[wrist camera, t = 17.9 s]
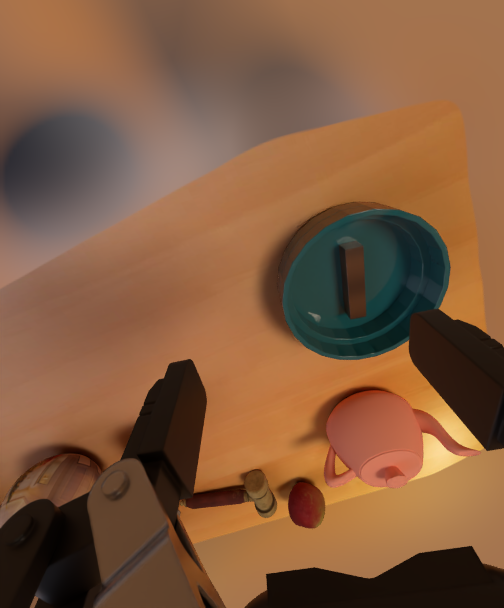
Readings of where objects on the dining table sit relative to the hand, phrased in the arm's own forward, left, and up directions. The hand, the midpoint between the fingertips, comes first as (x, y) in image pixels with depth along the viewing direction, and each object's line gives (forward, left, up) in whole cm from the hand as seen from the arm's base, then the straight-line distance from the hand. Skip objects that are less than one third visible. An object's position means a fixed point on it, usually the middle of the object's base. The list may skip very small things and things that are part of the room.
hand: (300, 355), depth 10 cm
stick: (+10, +10, -26) cm, 29 cm away
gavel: (+55, -20, -26) cm, 64 cm away
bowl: (+10, +10, -26) cm, 30 cm away
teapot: (+38, +12, -26) cm, 48 cm away
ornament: (+37, -45, -26) cm, 64 cm away
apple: (+58, -3, -26) cm, 64 cm away
